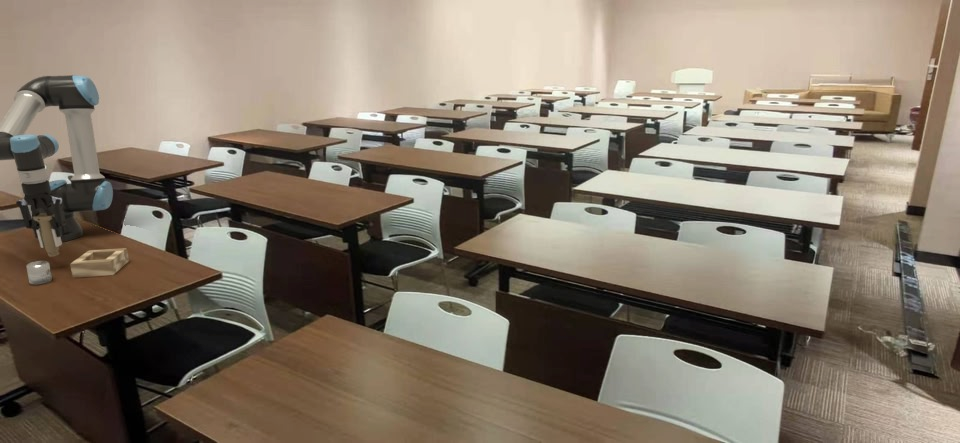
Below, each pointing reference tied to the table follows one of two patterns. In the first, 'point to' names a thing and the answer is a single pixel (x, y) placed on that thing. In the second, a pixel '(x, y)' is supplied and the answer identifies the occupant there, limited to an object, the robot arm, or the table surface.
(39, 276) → the round plug
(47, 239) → the handle
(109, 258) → the socket block
